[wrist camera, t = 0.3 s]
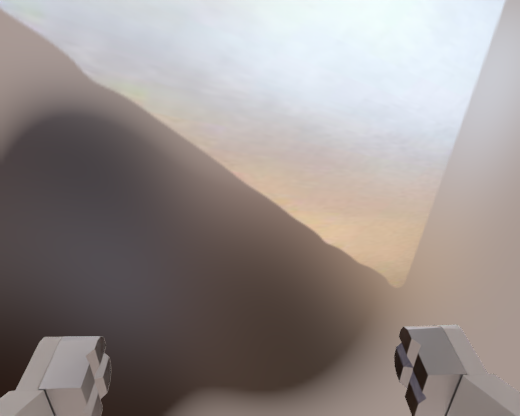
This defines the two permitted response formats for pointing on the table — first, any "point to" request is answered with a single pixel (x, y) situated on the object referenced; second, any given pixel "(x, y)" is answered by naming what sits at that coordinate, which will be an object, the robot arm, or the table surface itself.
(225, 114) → the table surface
